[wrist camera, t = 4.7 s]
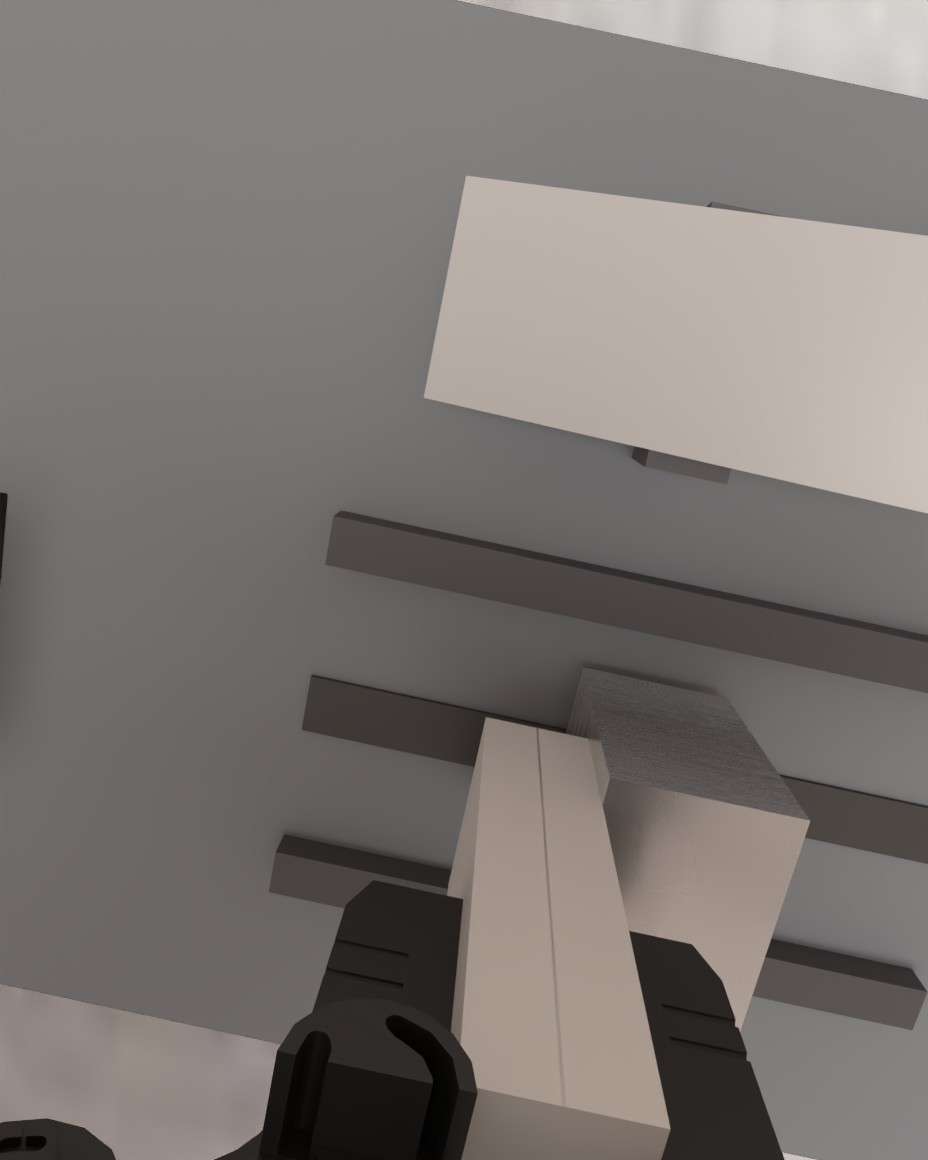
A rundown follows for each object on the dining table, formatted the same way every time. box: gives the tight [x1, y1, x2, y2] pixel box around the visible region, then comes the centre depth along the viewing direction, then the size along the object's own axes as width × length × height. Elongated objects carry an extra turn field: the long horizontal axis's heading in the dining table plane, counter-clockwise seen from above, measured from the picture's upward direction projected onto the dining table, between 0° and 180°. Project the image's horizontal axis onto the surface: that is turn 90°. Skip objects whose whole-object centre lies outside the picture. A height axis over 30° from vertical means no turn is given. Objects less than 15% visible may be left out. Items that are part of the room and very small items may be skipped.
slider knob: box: [566, 667, 810, 1031], centre depth 13 cm, size 2×4×4 cm, turn 169°
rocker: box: [424, 176, 928, 513], centre depth 11 cm, size 8×3×1 cm, turn 78°
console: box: [0, 0, 928, 1160], centre depth 15 cm, size 32×18×4 cm, turn 78°
